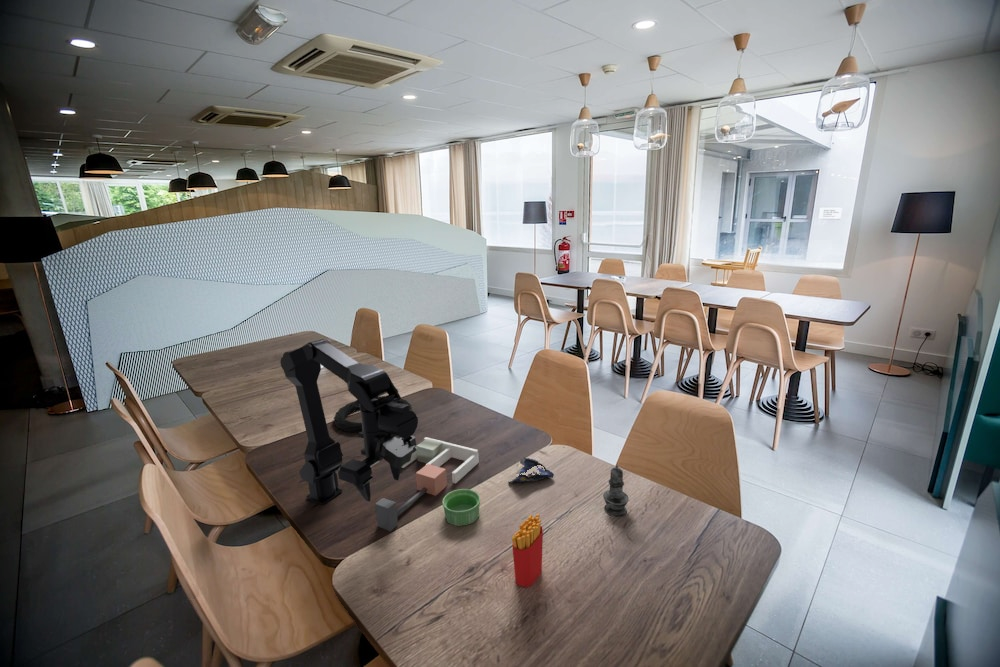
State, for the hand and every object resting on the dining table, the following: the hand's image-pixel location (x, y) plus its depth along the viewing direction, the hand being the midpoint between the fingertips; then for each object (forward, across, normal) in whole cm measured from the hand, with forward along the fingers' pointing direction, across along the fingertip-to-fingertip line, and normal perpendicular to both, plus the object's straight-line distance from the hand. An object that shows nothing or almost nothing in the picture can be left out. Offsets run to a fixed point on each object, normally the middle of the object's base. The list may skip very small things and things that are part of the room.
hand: (382, 489), depth 102 cm
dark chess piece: (+10, +29, -46) cm, 55 cm away
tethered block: (+9, +9, 0) cm, 13 cm away
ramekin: (+10, +11, -14) cm, 20 cm away
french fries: (+10, +1, -36) cm, 37 cm away
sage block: (+10, +29, +9) cm, 32 cm away
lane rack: (+9, +27, +5) cm, 29 cm away
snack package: (+10, +33, -22) cm, 41 cm away
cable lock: (+10, +44, +45) cm, 64 cm away
